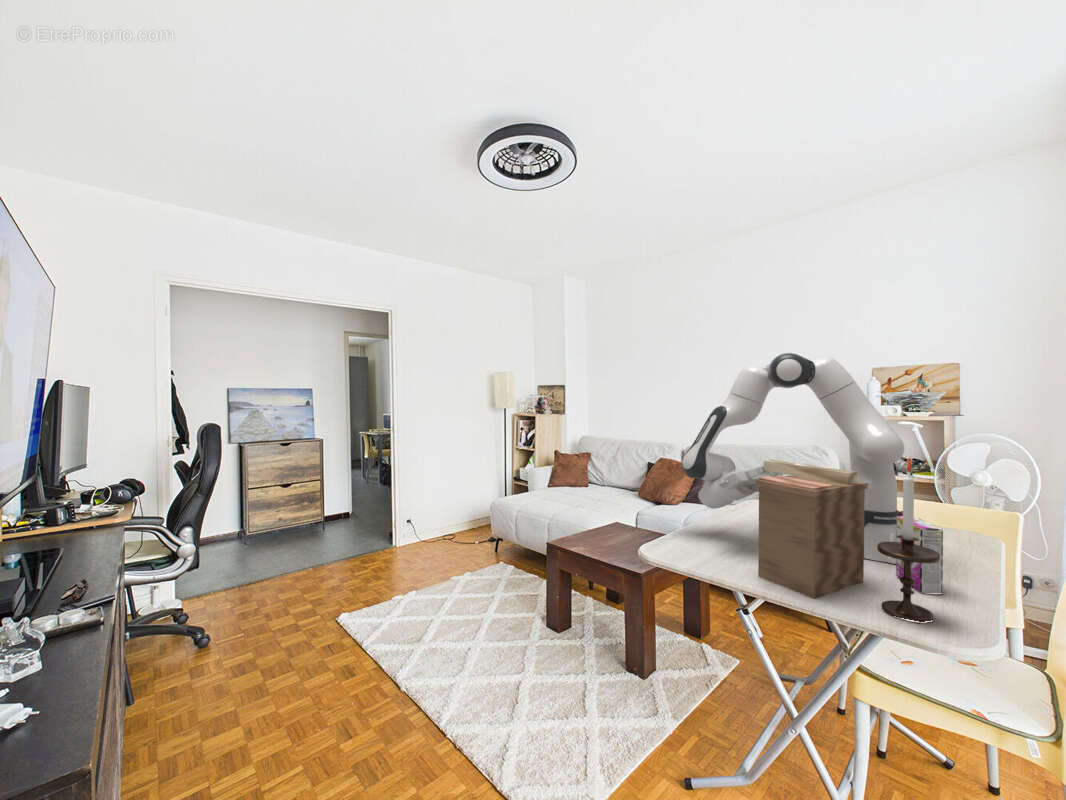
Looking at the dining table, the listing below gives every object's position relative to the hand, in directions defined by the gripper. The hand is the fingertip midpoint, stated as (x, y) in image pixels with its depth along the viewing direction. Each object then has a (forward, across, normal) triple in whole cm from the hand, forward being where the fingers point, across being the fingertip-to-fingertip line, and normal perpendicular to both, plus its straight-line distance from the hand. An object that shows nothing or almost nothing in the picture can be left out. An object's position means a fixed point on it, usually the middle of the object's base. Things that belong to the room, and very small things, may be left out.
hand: (773, 467), depth 139 cm
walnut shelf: (0, -6, +31) cm, 32 cm away
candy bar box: (+12, +14, +39) cm, 43 cm away
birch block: (+8, 0, +6) cm, 10 cm away
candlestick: (+18, -5, +42) cm, 46 cm away
